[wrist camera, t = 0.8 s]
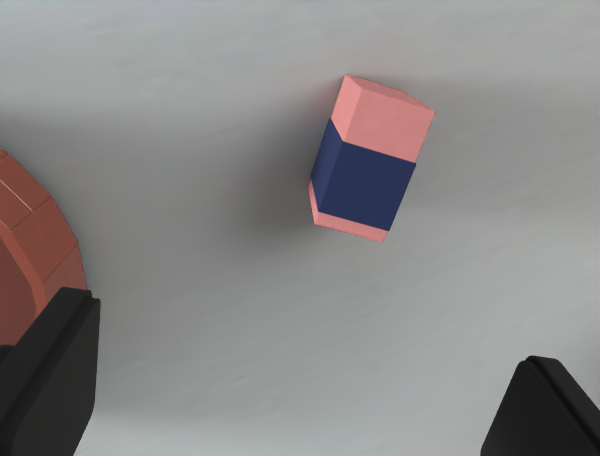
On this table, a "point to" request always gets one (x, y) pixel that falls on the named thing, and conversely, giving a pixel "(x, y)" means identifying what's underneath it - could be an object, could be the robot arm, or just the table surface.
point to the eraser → (367, 158)
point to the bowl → (31, 250)
